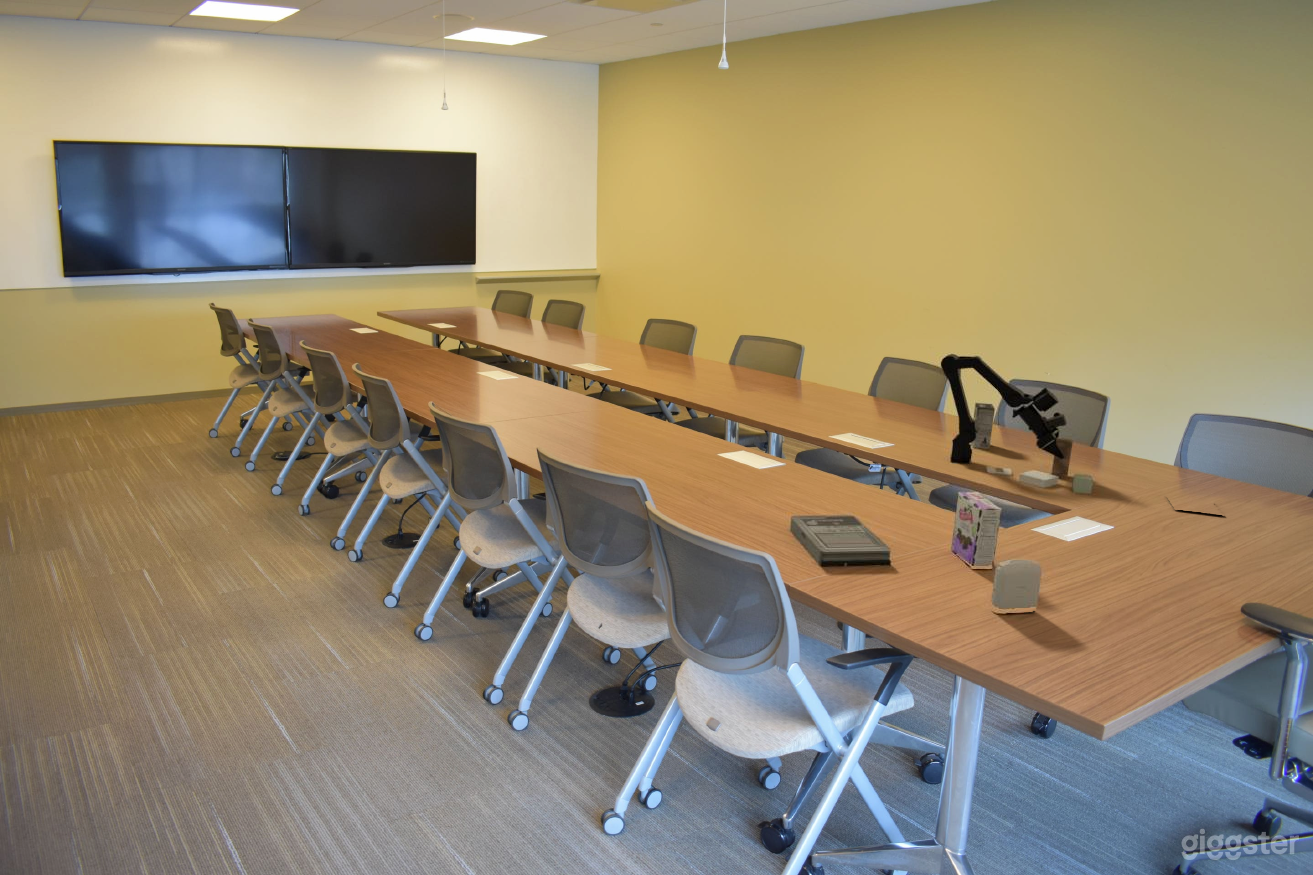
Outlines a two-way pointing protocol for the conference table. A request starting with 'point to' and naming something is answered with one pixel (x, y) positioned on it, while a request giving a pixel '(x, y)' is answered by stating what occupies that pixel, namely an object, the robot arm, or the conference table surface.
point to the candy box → (976, 529)
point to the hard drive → (839, 541)
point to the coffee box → (983, 424)
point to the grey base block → (1038, 478)
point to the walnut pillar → (1062, 465)
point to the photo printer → (1016, 584)
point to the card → (999, 470)
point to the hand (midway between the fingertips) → (1063, 455)
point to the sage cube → (1082, 483)
